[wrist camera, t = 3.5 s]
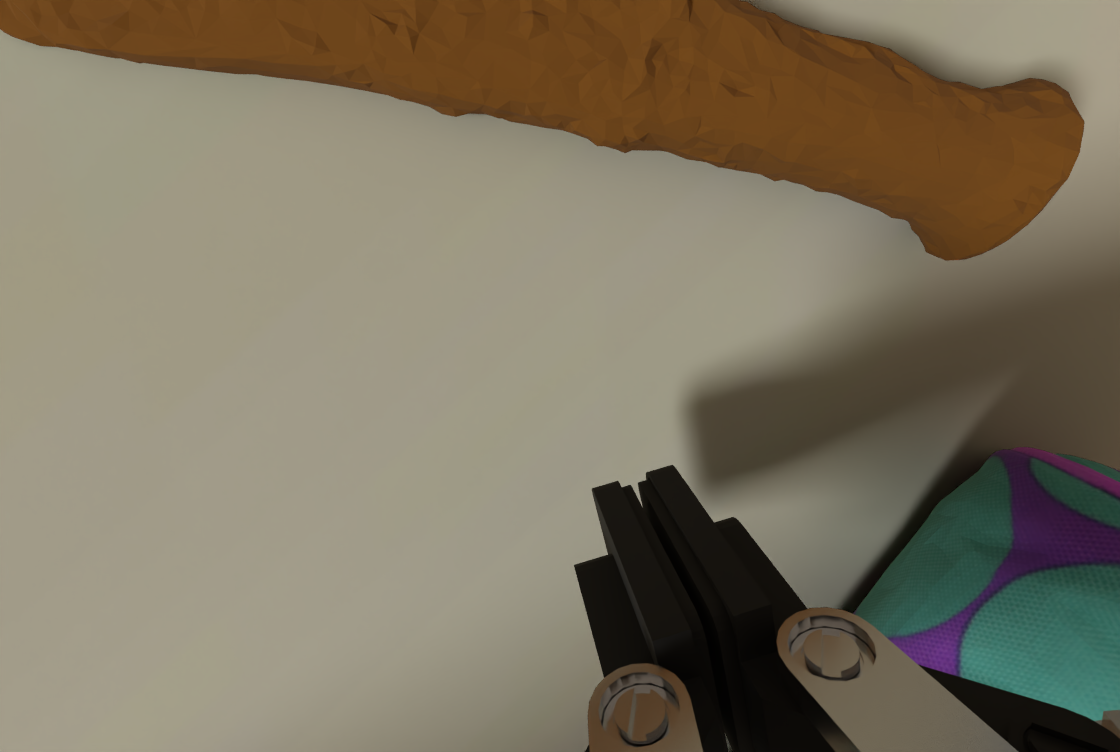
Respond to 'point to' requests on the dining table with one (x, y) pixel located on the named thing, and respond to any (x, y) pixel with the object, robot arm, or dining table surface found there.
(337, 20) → the primitive tool
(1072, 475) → the pencil case
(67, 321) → the dining table surface
